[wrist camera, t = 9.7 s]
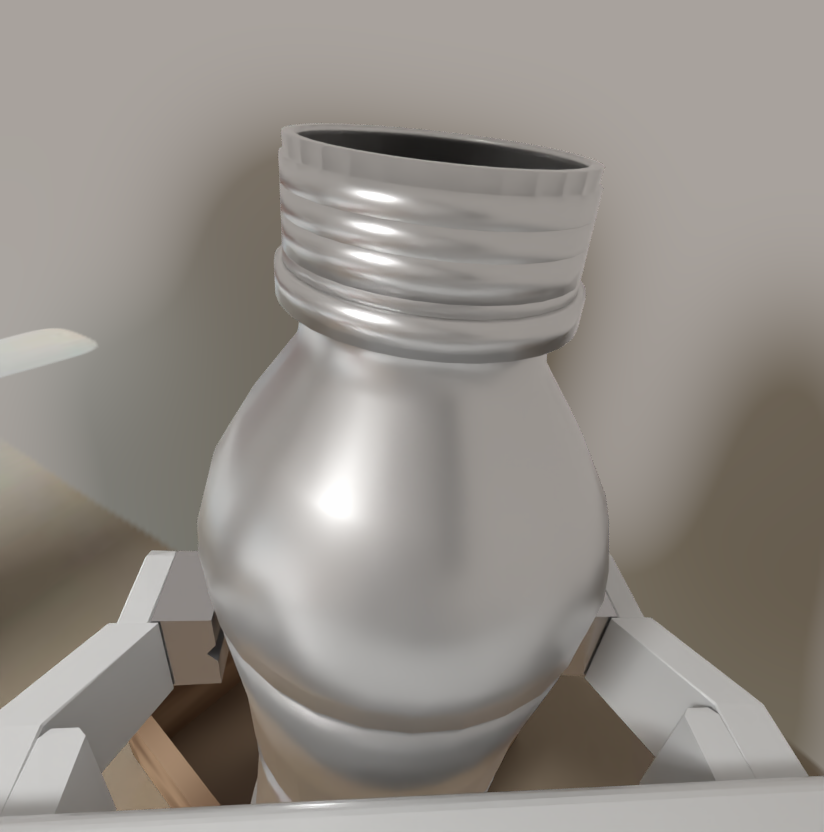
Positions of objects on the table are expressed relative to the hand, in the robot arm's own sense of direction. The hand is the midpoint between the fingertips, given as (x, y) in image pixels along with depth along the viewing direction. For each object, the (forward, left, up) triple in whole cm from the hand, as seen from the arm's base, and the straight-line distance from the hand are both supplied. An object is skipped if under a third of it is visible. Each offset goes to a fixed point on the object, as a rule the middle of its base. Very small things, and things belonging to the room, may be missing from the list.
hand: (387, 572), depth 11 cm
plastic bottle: (+1, -1, -12) cm, 12 cm away
